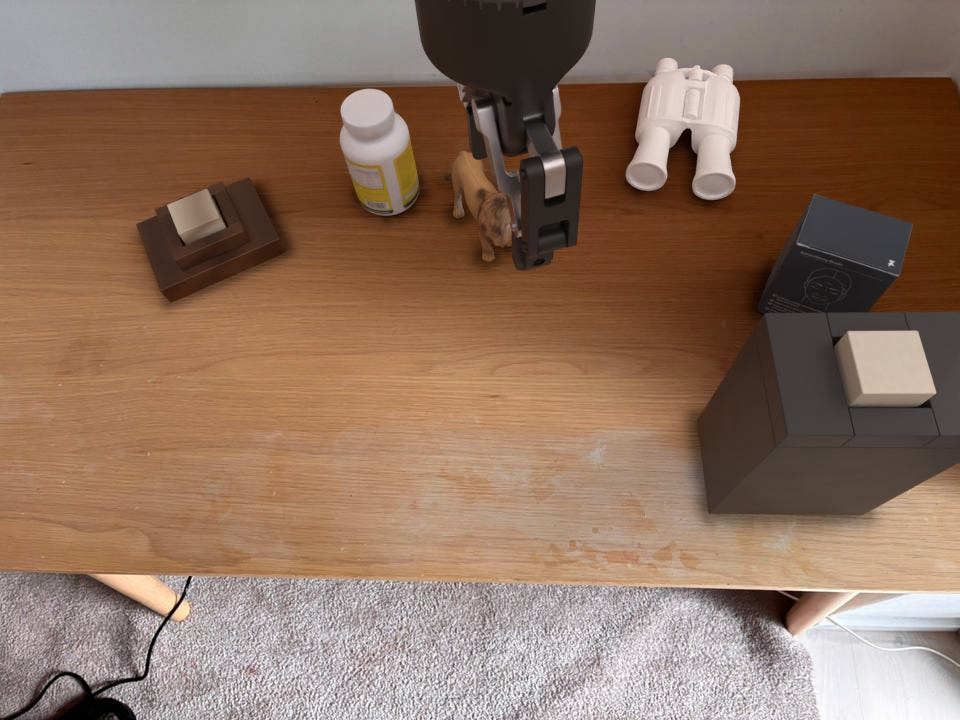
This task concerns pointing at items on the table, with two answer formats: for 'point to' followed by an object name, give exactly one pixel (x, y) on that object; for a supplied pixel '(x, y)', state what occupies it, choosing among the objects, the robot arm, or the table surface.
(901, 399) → the key near
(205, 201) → the key far
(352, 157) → the pill bottle
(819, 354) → the dark block with slot
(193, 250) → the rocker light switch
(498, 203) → the lion figurine
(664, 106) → the binoculars
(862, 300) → the box
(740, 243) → the table surface
